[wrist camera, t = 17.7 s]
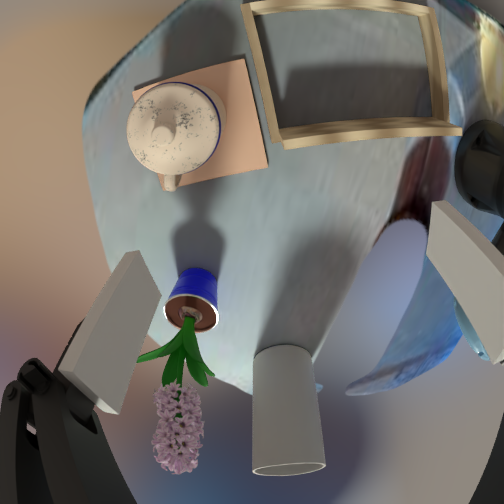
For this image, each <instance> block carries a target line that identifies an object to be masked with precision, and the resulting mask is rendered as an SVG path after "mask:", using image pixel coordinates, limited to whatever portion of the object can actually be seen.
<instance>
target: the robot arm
mask: <svg viewBox="0 0 504 504" xmlns="http://www.w3.org/2000/svg"><path fill="white" fill-rule="evenodd" d="M455 180H456V185H457V188H458V191H459V193H460V194H461V196H462V197H463V199H464V200H465V201H467V202H468V203H469V204H470V205H472V206H473V207H474V208H476V209H478V210H481V211H484V212H488V213H491V214H494V215H498V216H501V217H502V218H503V219H504V127H503V126H502V125H500V124H498V123H495V122H492V121H489V120H482V121H479V122H477V123H475V124H473V125H472V126H471V127H470V128H469V129H468V130H467V131H466V133H465V134H464V136H463V138H462V140H461V142H460V144H459V147H458V150H457V154H456V159H455ZM426 255H427V256H428V258H429V259H430V261H431V262H432V263H433V265H434V266H435V268H436V269H437V270H438V272H439V273H440V275H441V276H442V278H443V279H444V281H445V282H446V284H447V285H448V287H449V288H450V290H451V291H452V293H453V294H454V296H455V297H454V309H455V315H456V318H457V321H458V324H459V326H460V328H461V330H462V333H463V334H464V336H465V338H466V340H467V342H468V343H469V345H470V346H471V348H472V349H473V350H474V352H475V353H478V355H479V357H480V358H482V359H483V360H487V361H489V360H491V362H492V364H493V365H494V364H496V363H498V362H500V363H501V365H502V366H504V222H503V224H502V225H501V227H500V229H499V230H498V232H497V234H496V235H495V237H494V238H493V240H492V242H490V241H489V240H488V239H487V238H486V237H485V236H484V235H483V234H482V233H481V232H480V231H479V230H478V229H477V228H476V227H475V226H474V225H473V224H472V223H470V222H469V221H468V220H467V219H466V218H465V217H464V216H463V215H462V214H461V213H460V212H458V211H457V210H456V209H455V208H454V207H453V206H452V205H450V204H449V203H448V202H447V201H446V200H444V201H436V202H432V210H431V221H430V230H429V238H428V245H427V252H426ZM161 296H162V295H161V293H160V291H159V290H158V288H157V286H156V284H155V282H154V280H153V278H152V276H151V274H150V272H149V270H148V268H147V266H146V264H145V262H144V259H143V257H142V255H141V253H140V251H139V250H137V251H132V252H127V253H125V255H124V256H123V258H122V259H121V261H120V262H119V264H118V265H117V267H116V268H115V270H114V271H113V273H112V274H111V276H110V278H109V279H108V281H107V282H106V284H105V285H104V287H103V289H102V290H101V292H100V293H99V295H98V297H97V299H96V300H95V302H94V303H93V305H92V307H91V309H90V310H89V312H88V314H87V316H86V317H85V318H84V319H83V321H82V322H80V324H79V325H78V326H77V328H76V329H75V331H74V333H73V335H72V337H71V338H70V340H69V342H68V345H67V346H66V348H65V350H64V352H63V353H62V356H61V357H60V359H59V361H58V363H57V365H56V367H55V369H54V371H53V373H52V372H51V371H50V370H49V369H48V368H47V367H46V366H45V365H44V364H43V363H42V362H41V361H40V360H39V359H37V358H32V359H29V360H28V361H27V362H25V363H24V364H23V366H22V367H21V368H20V370H19V373H18V376H17V380H16V381H15V380H14V381H12V382H11V383H9V384H8V385H7V386H6V389H5V390H4V394H3V398H2V403H1V411H0V504H137V503H136V501H135V499H134V497H133V495H132V493H131V491H130V490H129V488H128V486H127V484H126V482H125V480H124V478H123V476H122V474H121V472H120V469H119V468H118V465H117V463H116V461H115V459H114V456H113V454H112V452H111V449H110V447H109V445H108V442H107V439H106V437H105V434H104V432H103V429H102V426H101V424H100V421H99V418H98V415H97V414H96V412H95V411H94V410H93V408H94V405H96V406H98V407H99V408H100V409H101V410H103V411H104V412H108V413H113V414H120V410H121V407H122V404H123V401H124V398H125V395H126V391H127V388H128V385H129V382H130V379H131V376H132V373H133V371H134V368H135V364H136V362H137V359H138V356H139V353H140V351H141V348H142V345H143V343H144V339H145V337H146V334H147V332H148V329H149V327H150V324H151V321H152V319H153V316H154V314H155V311H156V308H157V306H158V303H159V301H160V298H161ZM27 423H28V424H29V425H31V426H32V427H33V428H35V429H36V435H34V434H32V433H31V432H30V431H28V430H27ZM469 504H504V413H503V417H502V421H501V424H500V428H499V431H498V434H497V438H496V440H495V443H494V446H493V449H492V452H491V455H490V458H489V460H488V463H487V465H486V468H485V470H484V473H483V475H482V477H481V479H480V482H479V484H478V486H477V488H476V490H475V492H474V494H473V496H472V498H471V500H470V502H469Z"/></svg>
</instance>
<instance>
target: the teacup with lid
mask: <svg viewBox="0 0 504 504" xmlns="http://www.w3.org/2000/svg"><path fill="white" fill-rule="evenodd" d="M225 125H226V110H225V106H224V104H223V102H222V100H221V98H220V97H219V96H218V95H217V94H216V93H215V92H214V91H213V90H211V89H210V88H208V87H206V86H203V85H199V84H188V83H184V82H167V83H162V84H159V85H157V86H154V87H152V88H151V89H149V90H147V91H146V92H145V93H144V94H143V95H141V96H140V98H139V99H138V100H137V101H136V103H135V104H134V106H133V107H132V109H131V112H130V114H129V117H128V121H127V139H128V143H129V146H130V148H131V151H132V152H133V154H134V156H135V157H136V158H137V159H138V161H139V162H140V163H142V164H143V165H144V166H145V167H147V168H148V169H150V170H152V171H154V172H157V173H160V174H164V187H165V189H166V190H167V191H175V190H176V189H177V188H178V186H179V183H180V181H181V178H182V174H185V173H189V172H191V171H193V170H196V169H197V168H199V167H200V166H202V165H203V164H204V163H205V162H207V161H208V159H209V158H210V157H211V156H212V154H213V153H214V151H215V150H216V148H217V145H218V143H219V140H220V136H221V135H222V133H223V131H224V128H225Z"/></svg>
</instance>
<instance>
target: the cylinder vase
mask: <svg viewBox="0 0 504 504" xmlns="http://www.w3.org/2000/svg"><path fill="white" fill-rule="evenodd" d="M325 466H326V464H325V455H324V446H323V438H322V430H321V422H320V414H319V407H318V400H317V392H316V385H315V378H314V371H313V365H312V359H311V355H310V354H309V352H308V351H306V350H305V349H303V348H301V347H298V346H294V345H277V346H272V347H269V348H267V349H264V350H263V351H261V352H260V353H258V354H257V355H256V357H255V358H254V361H253V473H255V474H260V475H267V476H284V475H285V476H286V475H296V474H303V473H309V472H313V471H316V470H319V469H322V468H323V467H325Z"/></svg>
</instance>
